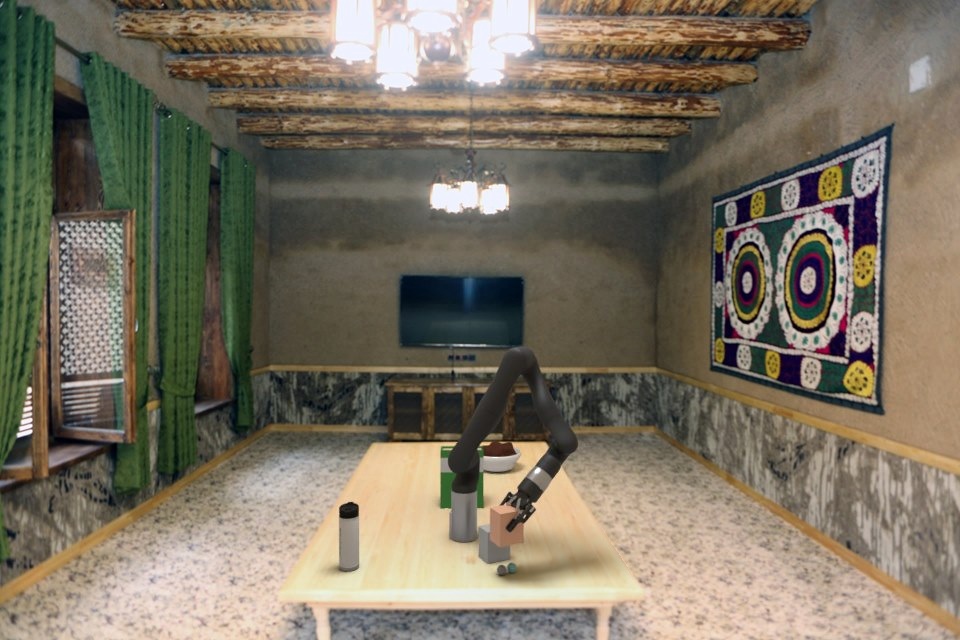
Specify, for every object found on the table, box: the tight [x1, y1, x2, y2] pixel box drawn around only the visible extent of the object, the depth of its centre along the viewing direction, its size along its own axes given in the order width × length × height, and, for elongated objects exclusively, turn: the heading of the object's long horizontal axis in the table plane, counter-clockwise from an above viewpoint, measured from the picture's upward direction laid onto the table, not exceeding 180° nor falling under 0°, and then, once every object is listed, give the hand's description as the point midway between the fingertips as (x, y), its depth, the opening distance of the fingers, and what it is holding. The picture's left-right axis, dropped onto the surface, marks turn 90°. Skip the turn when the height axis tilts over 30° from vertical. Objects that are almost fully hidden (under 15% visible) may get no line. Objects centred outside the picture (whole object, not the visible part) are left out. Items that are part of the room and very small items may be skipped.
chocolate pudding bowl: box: [482, 439, 522, 473], centre depth 302 cm, size 25×25×15 cm
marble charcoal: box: [496, 564, 508, 576], centre depth 185 cm, size 3×3×3 cm
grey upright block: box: [477, 523, 511, 565], centre depth 197 cm, size 8×6×10 cm
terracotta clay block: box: [489, 504, 525, 547], centre depth 186 cm, size 8×6×10 cm
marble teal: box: [506, 562, 518, 574], centre depth 187 cm, size 3×3×3 cm
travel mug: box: [338, 501, 360, 572], centre depth 190 cm, size 6×7×20 cm
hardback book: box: [439, 445, 485, 510], centre depth 248 cm, size 18×7×24 cm, turn 92°
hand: (502, 526), depth 185 cm, fingers closed on terracotta clay block, 6 cm apart
